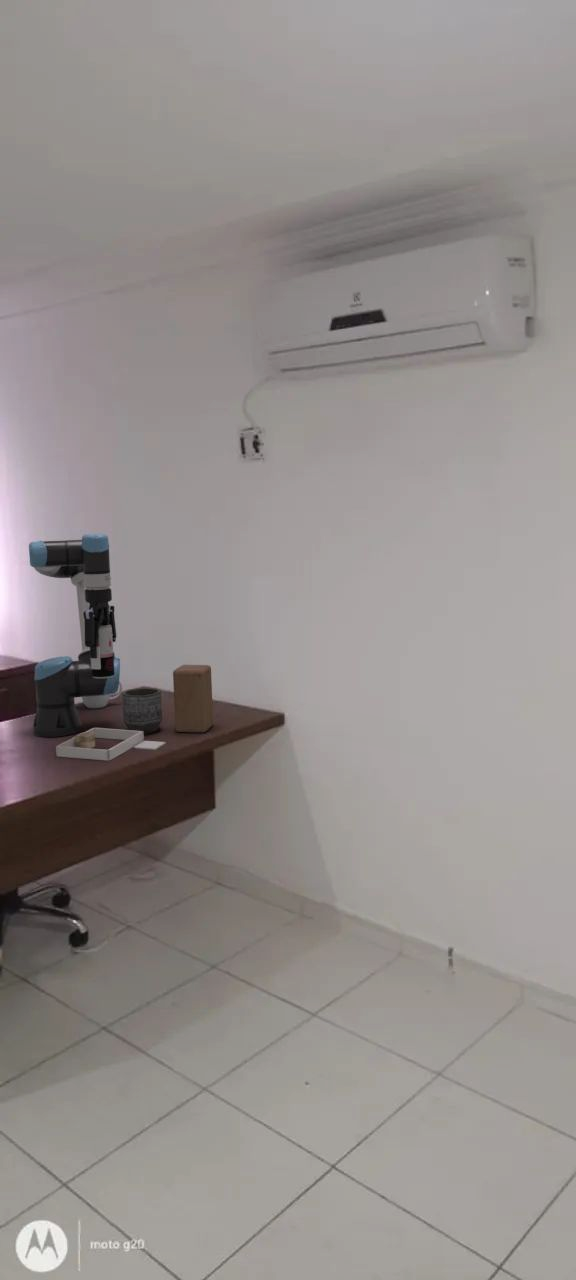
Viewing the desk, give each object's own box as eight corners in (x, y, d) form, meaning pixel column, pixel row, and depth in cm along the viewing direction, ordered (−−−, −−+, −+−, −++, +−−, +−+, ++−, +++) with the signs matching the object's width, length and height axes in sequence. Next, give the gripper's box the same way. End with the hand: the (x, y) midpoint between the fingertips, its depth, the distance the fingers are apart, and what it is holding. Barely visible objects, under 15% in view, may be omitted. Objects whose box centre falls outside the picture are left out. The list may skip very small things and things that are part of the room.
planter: (170, 728, 296) (168, 689, 294) (146, 737, 285) (144, 697, 283) (140, 724, 302) (138, 685, 300) (116, 733, 292) (113, 693, 289)
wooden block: (205, 733, 289) (202, 670, 285) (174, 732, 291) (171, 670, 287) (214, 725, 298) (211, 664, 295) (184, 724, 300) (181, 664, 297)
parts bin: (56, 756, 268) (55, 746, 268) (94, 737, 288) (93, 727, 287) (109, 760, 262) (108, 750, 262) (144, 740, 282) (143, 731, 282)
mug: (122, 701, 335) (120, 665, 333) (124, 708, 324) (122, 671, 322) (80, 704, 332) (78, 668, 330) (80, 711, 321) (78, 674, 319)
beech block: (76, 748, 276) (75, 735, 275) (83, 745, 279) (82, 732, 279) (87, 749, 274) (87, 736, 274) (95, 746, 278) (94, 733, 277)
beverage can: (106, 673, 275) (103, 623, 273) (119, 676, 271) (116, 625, 268) (87, 676, 271) (84, 626, 268) (100, 679, 266) (97, 628, 264)
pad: (133, 748, 274) (133, 746, 274) (145, 741, 281) (144, 740, 281) (155, 749, 272) (155, 748, 272) (165, 743, 279) (165, 742, 279)
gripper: (91, 592, 256) (96, 673, 260) (126, 584, 274) (130, 660, 278) (68, 591, 259) (73, 672, 262) (103, 584, 277) (107, 659, 281)
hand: (102, 666), depth 270 cm, fingers closed on beverage can, 6 cm apart
